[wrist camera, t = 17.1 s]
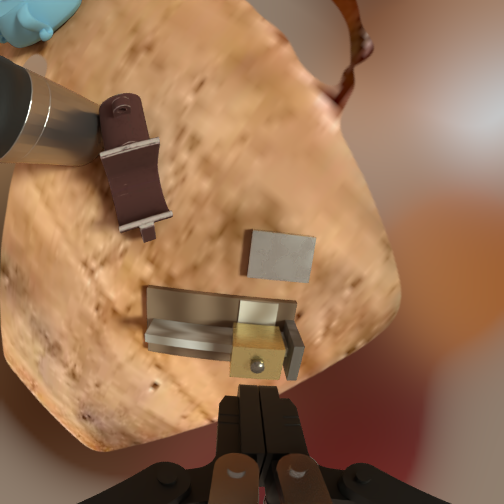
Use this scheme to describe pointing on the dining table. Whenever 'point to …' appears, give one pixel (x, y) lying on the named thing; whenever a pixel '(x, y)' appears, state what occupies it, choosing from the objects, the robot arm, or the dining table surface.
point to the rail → (216, 324)
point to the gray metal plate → (280, 256)
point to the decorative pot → (33, 19)
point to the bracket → (132, 165)
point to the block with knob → (256, 351)
